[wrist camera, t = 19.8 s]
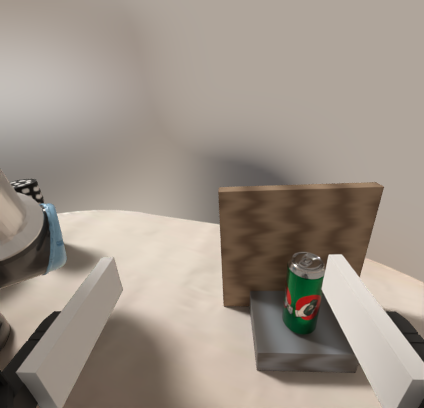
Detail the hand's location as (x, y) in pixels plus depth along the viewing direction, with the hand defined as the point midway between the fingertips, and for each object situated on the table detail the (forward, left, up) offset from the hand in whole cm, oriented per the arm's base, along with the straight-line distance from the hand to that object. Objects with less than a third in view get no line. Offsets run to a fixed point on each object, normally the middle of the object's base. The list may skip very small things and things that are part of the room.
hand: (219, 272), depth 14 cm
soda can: (+4, +18, -23) cm, 30 cm away
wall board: (+3, +20, -27) cm, 34 cm away
